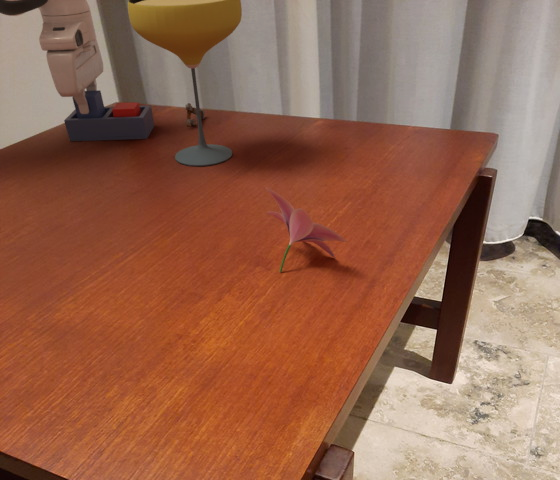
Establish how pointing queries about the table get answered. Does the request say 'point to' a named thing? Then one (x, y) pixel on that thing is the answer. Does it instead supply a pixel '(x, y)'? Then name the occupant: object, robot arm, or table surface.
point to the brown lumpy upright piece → (193, 110)
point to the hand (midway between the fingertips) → (89, 108)
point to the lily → (302, 226)
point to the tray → (110, 126)
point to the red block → (126, 110)
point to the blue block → (92, 105)
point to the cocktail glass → (188, 48)
